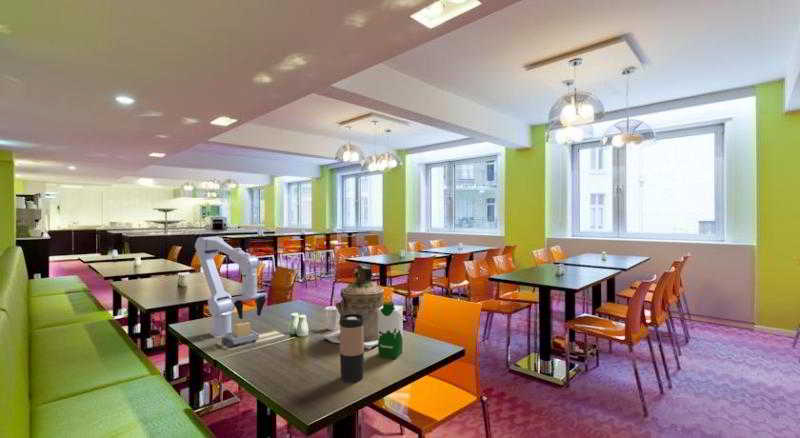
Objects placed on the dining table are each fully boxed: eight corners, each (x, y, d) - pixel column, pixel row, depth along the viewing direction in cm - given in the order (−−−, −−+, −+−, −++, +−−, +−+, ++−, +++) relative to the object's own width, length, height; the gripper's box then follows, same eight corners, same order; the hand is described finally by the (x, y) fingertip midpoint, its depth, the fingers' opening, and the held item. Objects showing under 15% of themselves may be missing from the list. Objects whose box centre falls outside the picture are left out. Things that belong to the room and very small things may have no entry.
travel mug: (340, 373, 131) (340, 314, 131) (363, 372, 132) (363, 313, 131) (339, 383, 124) (338, 320, 123) (363, 382, 124) (363, 319, 124)
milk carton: (375, 357, 146) (375, 303, 145) (384, 349, 154) (384, 298, 154) (397, 360, 143) (397, 305, 142) (405, 351, 151) (405, 300, 151)
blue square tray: (225, 341, 162) (224, 333, 162) (249, 336, 169) (249, 328, 169) (234, 347, 155) (233, 339, 155) (258, 341, 162) (258, 333, 162)
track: (216, 343, 161) (216, 337, 161) (274, 330, 178) (274, 325, 178) (227, 351, 152) (227, 345, 152) (287, 337, 169) (287, 332, 169)
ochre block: (233, 335, 162) (233, 323, 162) (245, 332, 165) (245, 320, 165) (238, 338, 158) (238, 325, 158) (250, 335, 162) (250, 323, 162)
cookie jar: (400, 334, 173) (400, 261, 173) (370, 351, 152) (369, 269, 151) (354, 326, 185) (354, 258, 185) (320, 341, 164) (319, 265, 163)
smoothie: (336, 331, 177) (336, 300, 177) (323, 330, 179) (322, 299, 178) (341, 327, 184) (341, 297, 183) (328, 326, 185) (328, 296, 185)
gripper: (235, 288, 158) (235, 322, 158) (270, 283, 167) (270, 315, 168) (229, 286, 163) (229, 318, 163) (263, 281, 173) (263, 312, 173)
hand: (249, 316), depth 166 cm, fingers open, 7 cm apart
